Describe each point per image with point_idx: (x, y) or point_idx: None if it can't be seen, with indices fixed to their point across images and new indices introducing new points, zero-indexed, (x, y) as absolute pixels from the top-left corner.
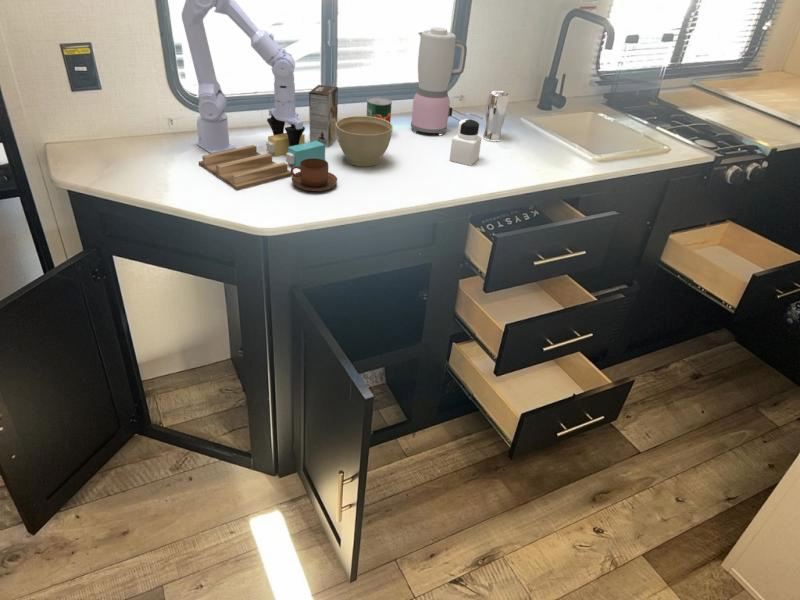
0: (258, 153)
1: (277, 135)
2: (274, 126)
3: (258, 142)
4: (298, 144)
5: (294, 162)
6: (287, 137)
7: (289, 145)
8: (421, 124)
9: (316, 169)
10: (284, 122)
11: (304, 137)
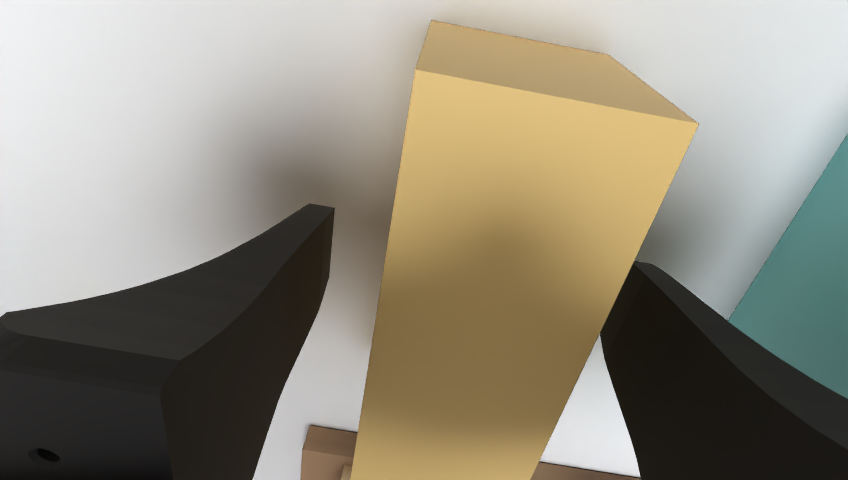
0: None
1: (393, 424)
2: (248, 468)
3: (99, 257)
4: (695, 300)
5: None
6: (545, 395)
7: (613, 380)
8: None
9: None
10: (228, 344)
11: (674, 106)
